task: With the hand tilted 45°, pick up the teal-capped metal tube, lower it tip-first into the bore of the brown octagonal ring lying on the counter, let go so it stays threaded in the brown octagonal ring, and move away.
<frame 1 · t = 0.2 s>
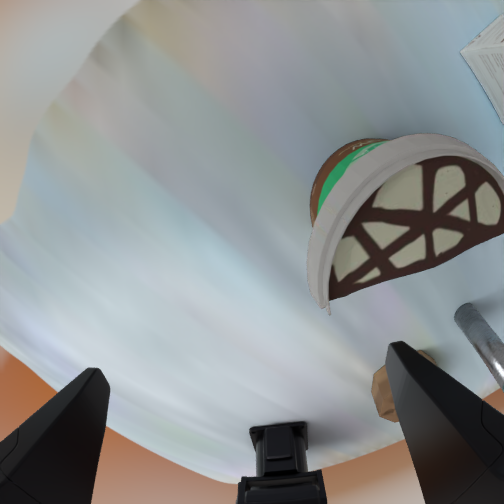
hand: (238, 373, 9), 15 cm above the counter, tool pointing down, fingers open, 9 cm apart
teal-capped metal tube: (463, 313, 26), on the counter
food container: (362, 165, 21), on the counter
supplement box: (501, 67, 17), on the counter
brown octagonal ring: (403, 376, 30), on the counter
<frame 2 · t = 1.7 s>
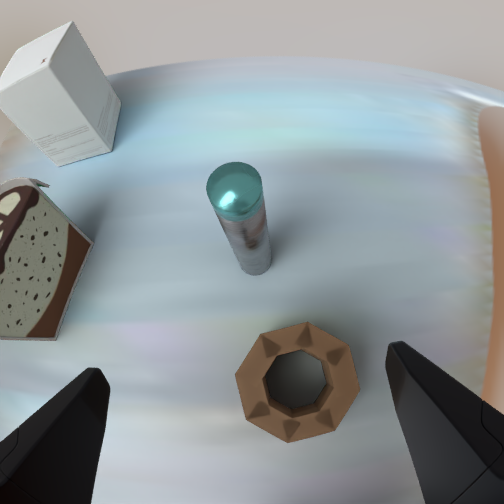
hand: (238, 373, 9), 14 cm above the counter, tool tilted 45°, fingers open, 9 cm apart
teal-capped metal tube: (255, 259, 24), on the counter
food container: (52, 280, 26), on the counter
supplement box: (89, 135, 31), on the counter
brown octagonal ring: (295, 379, 21), on the counter
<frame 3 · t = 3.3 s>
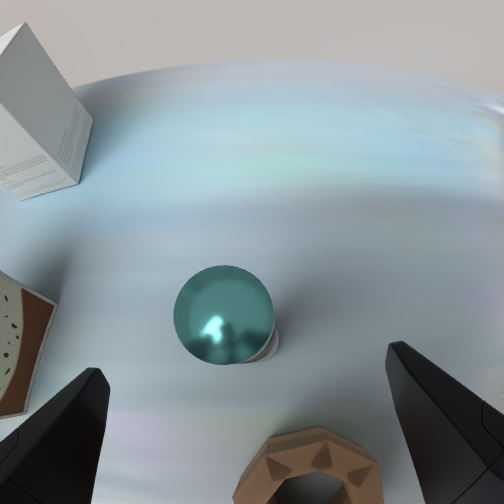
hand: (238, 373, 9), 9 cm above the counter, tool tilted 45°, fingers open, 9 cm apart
teal-capped metal tube: (257, 341, 18), on the counter
food container: (17, 343, 19), on the counter
supplement box: (56, 160, 25), on the counter
brown octagonal ring: (306, 483, 15), on the counter
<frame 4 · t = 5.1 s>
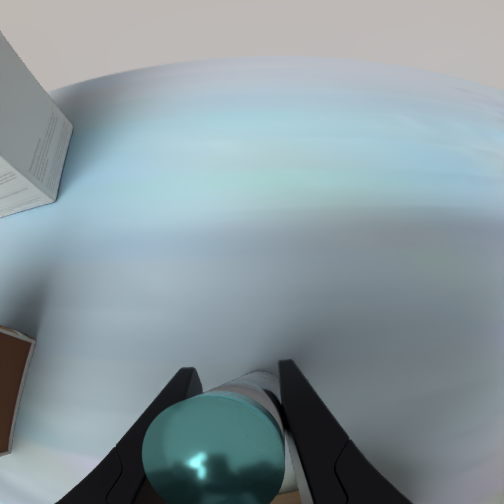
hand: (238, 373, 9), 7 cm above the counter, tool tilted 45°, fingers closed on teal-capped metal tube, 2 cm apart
teal-capped metal tube: (259, 394, 15), on the counter, touching gripper
supplement box: (34, 173, 21), on the counter
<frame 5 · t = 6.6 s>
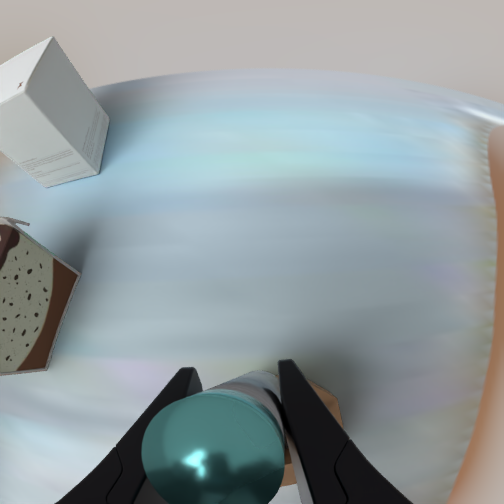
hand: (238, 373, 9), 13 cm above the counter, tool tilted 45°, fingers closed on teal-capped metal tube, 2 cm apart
teal-capped metal tube: (259, 394, 15), point 7 cm above the counter, touching gripper
food container: (42, 309, 25), on the counter
supplement box: (77, 153, 29), on the counter
brown octagonal ring: (283, 422, 20), on the counter
when the fingers open (8 cm above the counter, at t = 8.4 s): teal-capped metal tube drops 1 cm, resting in brown octagonal ring.
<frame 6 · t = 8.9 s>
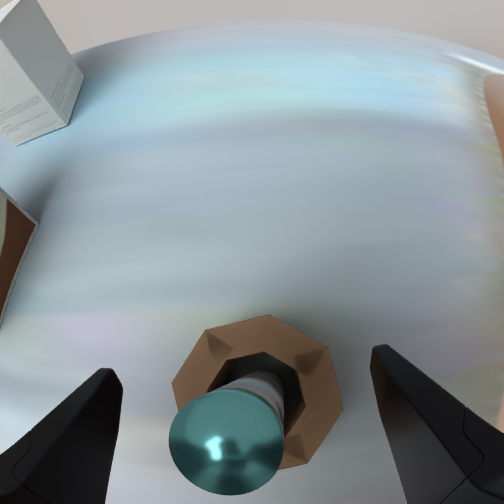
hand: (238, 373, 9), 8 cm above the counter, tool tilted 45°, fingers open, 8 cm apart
teal-capped metal tube: (261, 392, 16), resting in brown octagonal ring
supplement box: (50, 111, 26), on the counter
brown octagonal ring: (261, 391, 16), on the counter
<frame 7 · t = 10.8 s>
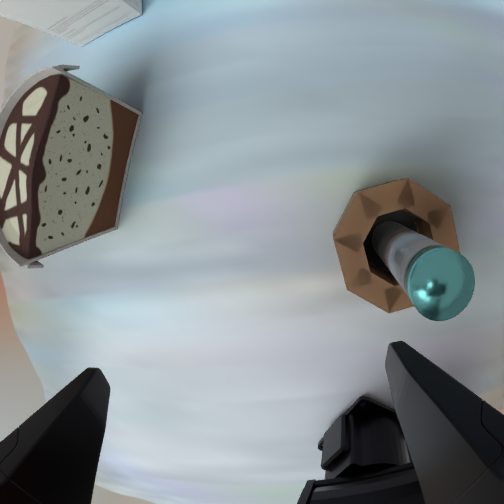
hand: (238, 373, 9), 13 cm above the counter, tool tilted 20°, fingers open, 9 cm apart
teal-capped metal tube: (389, 239, 20), resting in brown octagonal ring
food container: (101, 164, 24), on the counter
supplement box: (111, 5, 21), on the counter
brown octagonal ring: (389, 238, 20), on the counter
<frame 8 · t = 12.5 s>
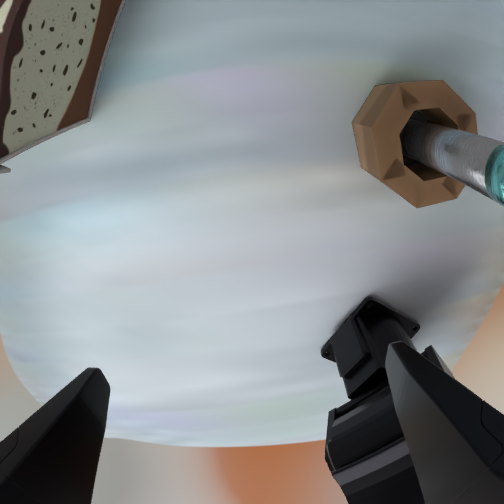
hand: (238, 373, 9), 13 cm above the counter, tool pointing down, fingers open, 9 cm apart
teal-capped metal tube: (405, 136, 18), resting in brown octagonal ring
food container: (70, 48, 15), on the counter
brown octagonal ring: (405, 135, 18), on the counter
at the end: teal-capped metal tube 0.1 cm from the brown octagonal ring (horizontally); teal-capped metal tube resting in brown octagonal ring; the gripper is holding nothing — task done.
